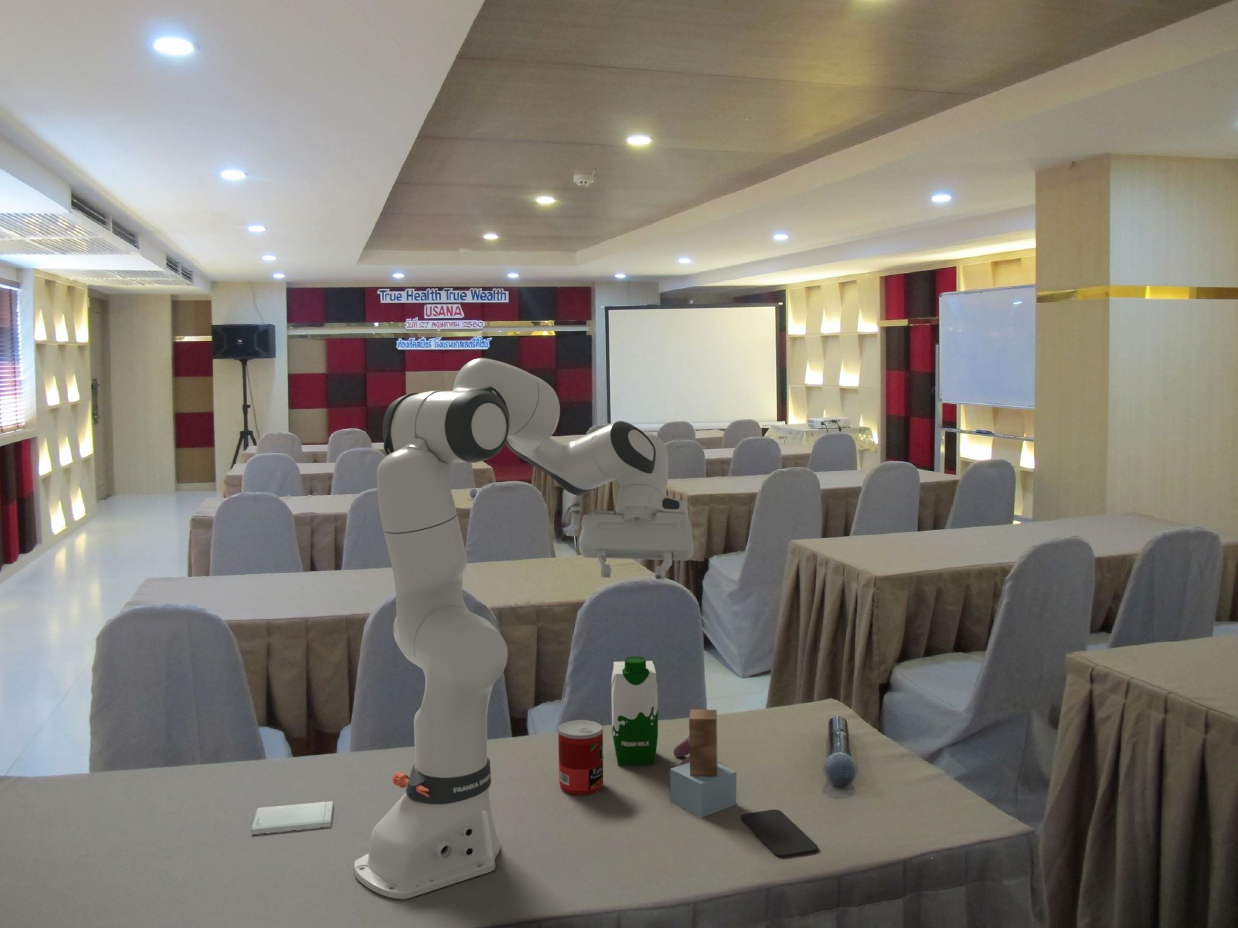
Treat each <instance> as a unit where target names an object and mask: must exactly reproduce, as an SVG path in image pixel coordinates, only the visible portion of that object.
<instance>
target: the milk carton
mask: <svg viewBox="0 0 1238 928" xmlns="http://www.w3.org/2000/svg"><path fill="white" fill-rule="evenodd" d="M610 681H611V682H610V683H611V733H612V740H613V744H614V751H615V755H616V761H617V766H618V767H619V766H621V767H622V766H652V765H656V764H655V763H656V756H657V748H658V747H657V745H658V736H659V732H658V731H659V710H658V709H659V704H658V703H659V698H658V697H659V696H658V693H659V692H658V684H659V683H658V675H657V670H656V667H655V664H654V663H653V660H647V659H646V658H645V657H642V656H629V657H626V658H625V659H624V661H613V669H612V673H611V679H610Z"/></svg>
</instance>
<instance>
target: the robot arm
mask: <svg viewBox="0 0 1238 928" xmlns="http://www.w3.org/2000/svg"><path fill="white" fill-rule="evenodd" d="M560 406H561V405H560V400H559V397H558V395H557V393H556V391H555V389H554V388H553V387H552V386H551V385H550V384H548V382H546V381H545V380H543V379H542V378H540V377H538V376H536V375H534V374H532V373H530V372H528V371H527V370H524V369H522V368H519V367H516V366H514V365H511V364H509V363H506V362H502V361H499V360H496V359H490V358H486V357H485V358H484V357H479V358H474V359H472V360H469V361H468V362H467V363H466V364H464V365H463V366H462V367H461V369H460V370H459V371H458V373H457V374H456V376H455V380H454V382H453V388H452V390H448V389H437V390H430V391H423V392H412V393H408V394H406V395H403V396H400V397H399V398H397V399H395V400H394V401H393V402H391V403H390V404H389V406H388V408H387V409H386V411H385V414H384V417H383V422H382V437H383V439H382V440H383V450H384V452H385V454H386V456H385V457H384V458H383V459H382V460H381V461H380V462H379V464H378V467H377V469H376V491H377V493H376V494H377V500H378V502H377V503H378V510H379V516H380V521H381V526H382V530H383V535H384V539H385V543H386V547H387V551H388V555H389V559H390V560H389V561H390V565H391V569H392V573H393V578H394V586H395V587H394V589H395V609H396V610H395V611H396V612H395V613H396V615H395V618H394V622H393V627H392V632H393V636H394V640H395V642H396V644H397V646H398V648H399V649H400V651H401V652H402V654H403V655H404V657H405V658H406V659H407V660H408V661H409V662H411V663H412V664H414V665H415V666H417V667H419V669H422V670H423V671H422V672H423V674H424V679H425V680H424V681H425V684H424V685H425V686H424V692H423V697H422V702H421V705H420V707H419V709H418V710H417V711H416V712H415V715H414V719H413V730H414V731H413V732H414V733H413V734H414V736H413V737H414V738H413V740H414V764H413V766H412V769H411V771H410V774H409V775H408V774H404V773H403V772H401V771H396V772H395V773H394V774H393V776H392V780H391V781H392V784H393V785H395V786H398V787H399V788H400V789H401V788H402V789H404V788H405V793H404V794H403V795H402V796H401V797H400V798H399V800H397V802H396V803H395V804H394V805H393V806H392V807H391V809H390V810H389V811H388V812H387V813H386V814H385V815H384V816H383V817H382V818H381V820H379V822H378V823H377V824H376V825H375V826H374V827H373V829H372V832H371V834H370V839H369V846H368V853H366V854H364V855H362V856H361V857H359V858H358V859H355V860H354V863H353V875H354V876H355V878H356V879H357V880H358V882H360V883H361V885H364V886H365V887H366V888H368V889H370V890H371V891H373V892H374V893H377V894H379V895H381V896H384V897H388V898H391V899H398V900H407V899H410V898H414V897H417V896H420V895H422V894H426V893H429V892H432V891H435V890H438V889H442V888H444V887H447V886H451V885H454V884H456V883H460V882H462V881H466V880H469V879H472V878H476V877H478V876H481V875H485V874H488V873H491V872H492V871H494V870H495V869H496V857H497V856H498V855H499V852H500V850H501V843H500V840H499V838H498V834H497V831H496V827H495V822H494V817H493V812H492V807H491V798H490V785H491V784H492V772H491V769H492V768H491V760H490V758H489V757H488V721H487V720H488V710H489V703H490V699H491V695H492V694H491V693H492V690H493V687H494V684H495V683H496V682H497V681H498V680H499V678H500V677H501V676H502V674H503V673H504V670H505V669H506V666H507V663H508V654H509V653H508V646H507V643H506V641H505V638H504V637H503V635H501V633H500V632H499V631H498V630H497V628H496V627H495V626H494V625H493V624H492V623H491V622H490V621H489V620H487V619H486V618H484V617H483V616H480V615H478V614H476V613H474V612H471V611H470V610H469V609H468V607H467V605H466V603H465V600H464V595H463V581H464V579H463V578H464V572H465V570H466V568H467V565H468V557H467V552H466V547H465V543H464V538H463V533H462V531H461V525H460V520H459V516H458V511H457V508H456V504H455V499H454V496H453V494H452V493H453V492H452V490H451V486H450V477H451V476H450V475H451V470H452V466H453V464H462V463H470V464H471V463H473V464H474V463H479V462H484V461H487V460H489V459H492V458H494V457H496V456H497V455H498V454H499V453H500V452H501V451H502V449H503V448H504V446H506V447H507V448H508V450H510V451H511V452H513V454H515V455H516V456H517V457H519V458H521V459H522V460H523V461H525V462H527V463H529V465H531V466H533V467H534V468H537V469H538V470H540V471H541V472H543V473H544V474H546V475H548V477H550V478H551V479H553V480H554V481H555V482H556V483H557V484H558V485H559V487H561V489H563V490H565V491H566V492H567V493H570V494H572V495H574V496H584V495H586V494H588V493H591V492H592V491H593V490H596V489H597V488H599V487H602V486H603V485H606V484H609V483H610V482H613V481H616V483H618V484H619V486H620V487H619V490H618V492H617V497H616V498H617V499H616V505H615V506H616V507H615V510H606V511H605V510H603V511H601V510H591V512H588V513H586V514H585V515H583V516H582V518H581V519H582V520H581V525H580V526H581V527H580V528H581V532H580V534H579V539H578V547H579V548H578V549H579V552H580V554H581V555H582V556H583V557H584V558H589V559H591V558H592V559H594V558H595V559H597V562H598V565H599V566H600V576H601V578H611V574H612V568H611V564H606V562H607V559H621V560H622V559H628V560H657V561H659V560H661V561H663V562H662V563H661V564H660V565H656V566H655V571H654V575H655V580H665V577H666V575H665V574H666V572H667V571H668V570H669V568H670V567H672V565H673V561H685V562H686V561H690V560H691V558H692V557H693V556H694V541H693V537H694V536H693V531H692V523H691V521H690V518H689V517H690V516H689V510H688V506H687V503H686V502H685V501H683V500H679V499H676V498H672V497H670V496H666V494H665V491H666V489H667V486H668V482H669V481H668V480H669V465H670V464H669V455H668V449H667V446H666V444H665V442H664V441H663V439H661V438H660V437H659V436H657V435H656V434H653V433H650V432H643V431H642V430H641V429H639V428H638V427H636V426H635V425H634V424H632V423H629V422H628V421H623V420H618V421H615V422H612V423H610V424H607V425H605V426H603V427H601V428H599V429H596V430H595V431H592V432H590V433H588V434H586V435H584V436H582V437H579V438H578V439H575V440H571V441H568V442H563V443H561V442H558V441H557V440H554V439H553V438H552V435H553V434H554V433H555V431H556V429H557V427H558V423H559V421H560V415H561V407H560Z"/></svg>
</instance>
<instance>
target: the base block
mask: <svg viewBox="0 0 1238 928" xmlns="http://www.w3.org/2000/svg"><path fill="white" fill-rule="evenodd" d="M669 772H670V773H669V775H670V778H669V779H670V780H669V784H670V786H669V787H670V790H669V791H670V795H669V796H670V797H669V798H670V802H671V803H674V804H675V805H676V806H678V807H681V808H682V809H684V810H686V811H688V812H690V813H692V814H694V815H695V816H697V817H699V818H704V817H707V816H709V815H712V814H715V813H717V812H721V811H722V810H726V809H728V808H731V807H733V806H736V805H737V771H735V770H733V769H731V768H729V767H726V766H724V765H722V764H720V763H718V762H717V777H716V776H690V762H689V763H686V764H683V765H680V766H678V765H677V766H674V767H672V768H670V769H669Z"/></svg>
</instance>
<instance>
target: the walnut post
mask: <svg viewBox="0 0 1238 928" xmlns="http://www.w3.org/2000/svg"><path fill="white" fill-rule="evenodd" d="M717 713H718V712H717V709H692V708H691V709H690V711H689V717H688V725H689V727H688V729H689V730H688V731H689V733H688V736H689V740H690V753H689V755H690V776H716V777H717V763H718V725H717V724H718V723H717V722H718V721H717V720H718V717H717V715H718V714H717Z"/></svg>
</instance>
